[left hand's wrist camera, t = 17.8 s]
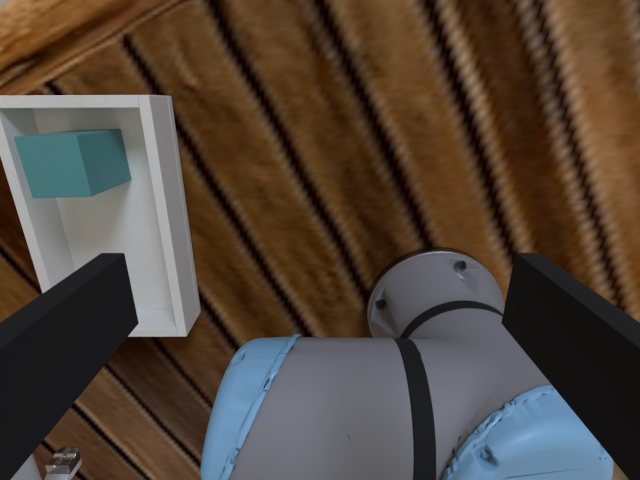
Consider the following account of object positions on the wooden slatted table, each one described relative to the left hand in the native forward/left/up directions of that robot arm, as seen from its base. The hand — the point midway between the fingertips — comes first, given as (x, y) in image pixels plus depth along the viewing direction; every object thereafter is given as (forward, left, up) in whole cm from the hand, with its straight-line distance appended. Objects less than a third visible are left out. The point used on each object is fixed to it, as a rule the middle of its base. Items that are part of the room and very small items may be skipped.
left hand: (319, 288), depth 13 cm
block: (+12, +18, -26) cm, 34 cm away
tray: (+6, +21, -27) cm, 35 cm away
